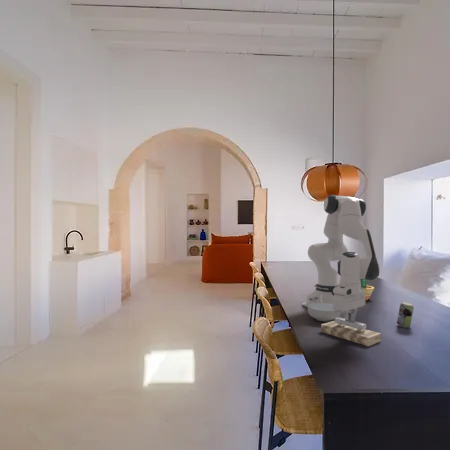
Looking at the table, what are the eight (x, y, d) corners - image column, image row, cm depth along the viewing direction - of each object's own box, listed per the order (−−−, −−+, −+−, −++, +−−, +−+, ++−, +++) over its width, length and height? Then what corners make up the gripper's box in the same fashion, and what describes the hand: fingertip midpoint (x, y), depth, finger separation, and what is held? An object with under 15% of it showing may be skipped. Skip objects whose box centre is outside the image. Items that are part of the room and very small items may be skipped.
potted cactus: (374, 297, 241) (375, 260, 241) (373, 302, 227) (374, 263, 227) (350, 295, 248) (351, 259, 247) (348, 299, 234) (348, 262, 233)
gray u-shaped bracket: (334, 331, 165) (334, 309, 165) (338, 329, 167) (338, 308, 167) (362, 339, 154) (362, 316, 154) (366, 337, 156) (366, 315, 155)
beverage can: (398, 323, 180) (398, 300, 180) (414, 326, 175) (415, 302, 175) (395, 326, 175) (395, 302, 175) (411, 329, 170) (412, 304, 170)
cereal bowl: (318, 325, 177) (318, 311, 177) (301, 316, 193) (301, 303, 193) (347, 322, 182) (347, 309, 182) (329, 314, 198) (329, 301, 198)
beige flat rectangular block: (321, 331, 167) (321, 324, 167) (333, 327, 173) (334, 320, 173) (368, 346, 148) (368, 338, 148) (380, 341, 154) (380, 333, 154)
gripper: (356, 284, 169) (356, 313, 169) (330, 289, 156) (330, 320, 157) (369, 286, 164) (368, 316, 164) (343, 292, 151) (342, 324, 152)
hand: (349, 318), depth 160 cm, fingers closed on gray u-shaped bracket, 3 cm apart
